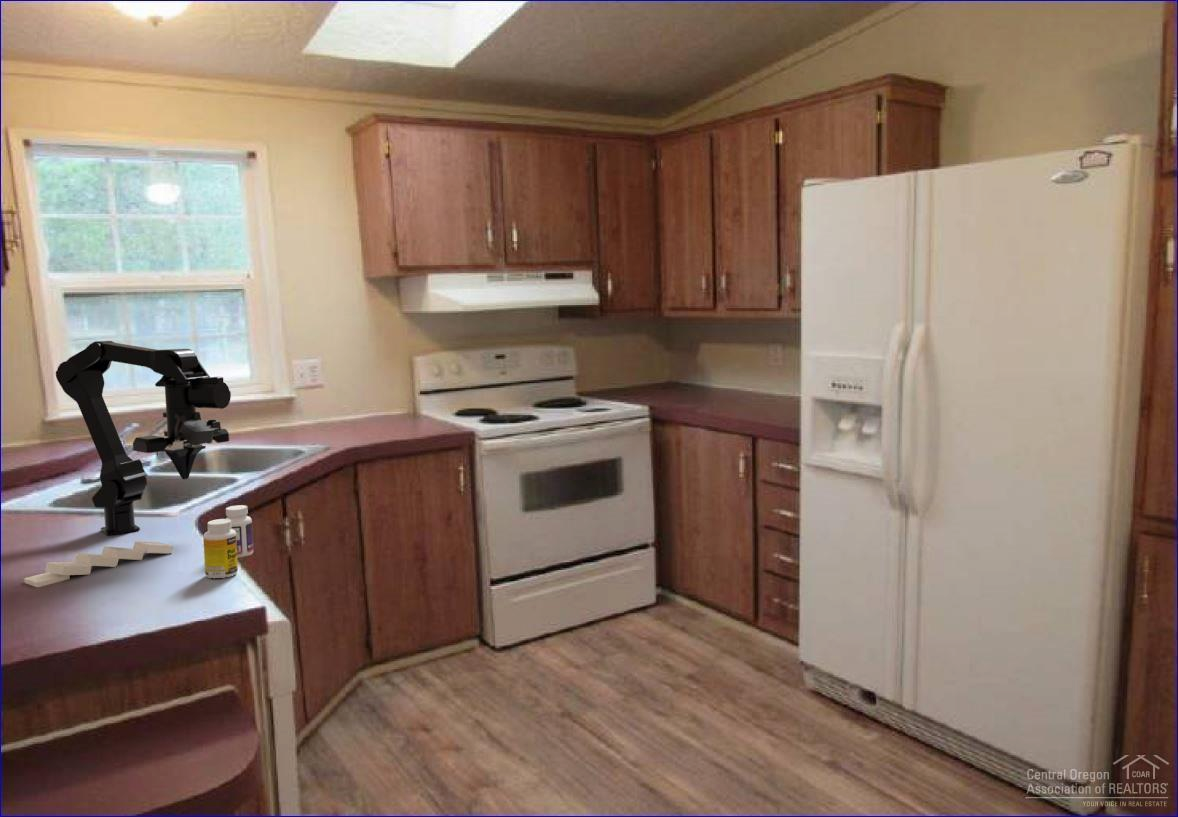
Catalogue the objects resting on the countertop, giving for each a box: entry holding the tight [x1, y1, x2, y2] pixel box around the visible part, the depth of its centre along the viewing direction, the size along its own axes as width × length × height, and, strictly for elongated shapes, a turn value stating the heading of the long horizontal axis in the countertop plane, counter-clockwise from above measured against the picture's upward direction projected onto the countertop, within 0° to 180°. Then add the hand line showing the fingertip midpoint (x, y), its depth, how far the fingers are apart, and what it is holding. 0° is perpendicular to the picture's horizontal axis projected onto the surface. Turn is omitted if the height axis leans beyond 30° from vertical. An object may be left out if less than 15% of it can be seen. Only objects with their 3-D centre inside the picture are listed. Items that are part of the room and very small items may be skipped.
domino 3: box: [74, 552, 120, 568], centre depth 154 cm, size 2×5×5 cm
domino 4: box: [101, 546, 145, 561], centre depth 158 cm, size 2×5×5 cm
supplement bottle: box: [202, 518, 239, 580], centre depth 149 cm, size 6×6×10 cm
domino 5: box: [132, 540, 174, 554], centre depth 162 cm, size 2×5×5 cm
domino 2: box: [44, 561, 93, 576], centre depth 149 cm, size 2×5×5 cm
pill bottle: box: [225, 504, 254, 559], centre depth 162 cm, size 5×5×10 cm
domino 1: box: [23, 572, 71, 588], centre depth 147 cm, size 2×5×5 cm
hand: (185, 478), depth 175 cm, fingers closed
